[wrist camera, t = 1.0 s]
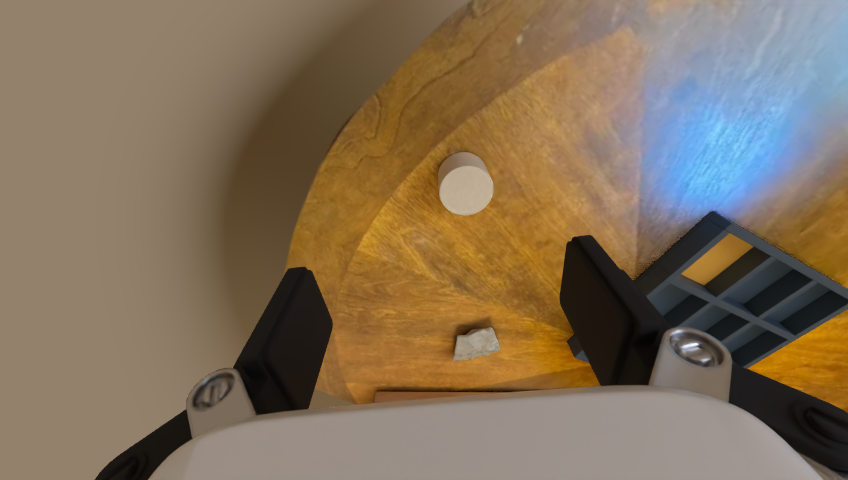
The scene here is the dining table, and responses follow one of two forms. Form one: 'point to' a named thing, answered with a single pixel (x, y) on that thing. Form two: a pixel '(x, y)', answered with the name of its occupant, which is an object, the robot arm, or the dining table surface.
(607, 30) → the dining table surface
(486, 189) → the cylinder
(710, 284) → the grid
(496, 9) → the dining table surface
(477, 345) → the stone
